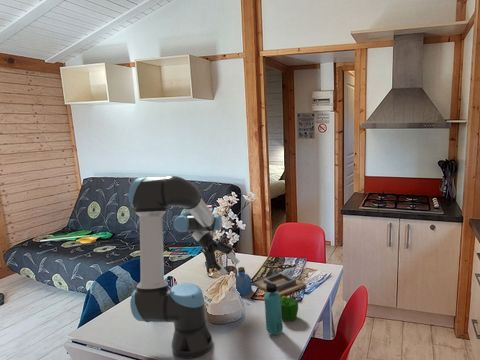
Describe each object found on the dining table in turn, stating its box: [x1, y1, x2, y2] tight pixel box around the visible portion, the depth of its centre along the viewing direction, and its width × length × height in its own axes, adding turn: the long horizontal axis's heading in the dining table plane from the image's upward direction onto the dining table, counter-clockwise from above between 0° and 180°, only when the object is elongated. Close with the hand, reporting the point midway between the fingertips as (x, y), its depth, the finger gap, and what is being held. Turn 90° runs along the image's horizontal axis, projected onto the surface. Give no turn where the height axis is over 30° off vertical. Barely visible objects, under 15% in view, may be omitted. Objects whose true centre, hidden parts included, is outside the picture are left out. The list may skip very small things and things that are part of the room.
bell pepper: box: [280, 295, 299, 322], centre depth 151 cm, size 8×8×10 cm
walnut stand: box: [253, 271, 307, 296], centre depth 180 cm, size 18×18×4 cm
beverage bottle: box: [263, 283, 284, 335], centre depth 141 cm, size 6×7×20 cm
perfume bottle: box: [235, 266, 253, 297], centre depth 177 cm, size 6×6×12 cm
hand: (232, 268), depth 180 cm, fingers open, 13 cm apart
